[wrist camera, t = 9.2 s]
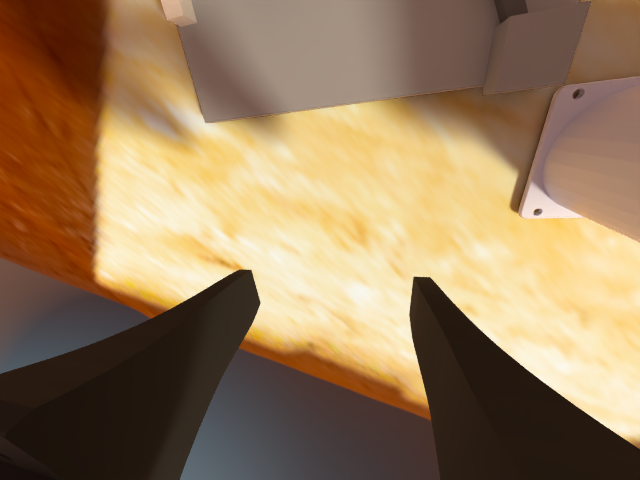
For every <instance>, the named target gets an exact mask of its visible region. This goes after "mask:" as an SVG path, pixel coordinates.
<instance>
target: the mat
mask: <svg viewBox="0 0 640 480" xmlns="http://www.w3.org/2000/svg"><path fill="white" fill-rule="evenodd" d="M191 1H192V5H193V9H194V13H195V16H196V20H197V23H194V24H190V25H186V26H182V27H181V26H179V25H177V24H176V25H177V28H178V32H179V35H180V38H181V42H182V45H183V49H184V52H185V55H186V59H187V62H188V66H189V69H190V72H191V76H192V79H193V83H194V86H195V89H196V93H197V96H198V99H199V103H200V106H201V110H202V113H203V116H204V120H205V123H216V122H223V121H231V120H238V119H246V118H253V117H260V116H268V115H275V114H283V113H290V112H298V111H305V110H313V109H320V108H328V107H335V106H342V105H350V104H357V103H365V102H372V101H380V100H387V99H395V98H402V97H410V96H417V95H424V94H432V93H439V92H447V91H454V90H462V89H469V88H477V87H484V82H485V77H486V71H487V66H488V60H489V55H490V50H491V44H492V39H493V33H494V28H496V27H497V26H498V25H500V21H499V17H498V14H497V10H496V6H495V3H494V0H191ZM525 1H526V5H527V10H528V13H531V12H536V11H541V10H546V9H552V8H557V7H562V6H567V5H573V4H578V3H580V0H525Z"/></svg>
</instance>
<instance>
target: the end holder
mask: <svg viewBox="0 0 640 480" xmlns="http://www.w3.org/2000/svg"><path fill="white" fill-rule="evenodd" d="M161 3H162V6H163V9H164V13H165V16H166V19H167V20H168V21H170V22H172V23H175V24H177V25H179V26H181V27H182V26H186V25H190V24H194V23H197V20H196V16H195V13H194V9H193V5H192V1H191V0H161Z"/></svg>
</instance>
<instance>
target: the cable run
mask: <svg viewBox="0 0 640 480" xmlns="http://www.w3.org/2000/svg"><path fill="white" fill-rule="evenodd" d="M494 3H495V6H496V10H497V14H498V17H499V21H500V25H498V26H497V27H496V28H494V33H493V39H492V44H491V50H490V55H489V60H488V66H487V71H486V77H485V82H484V88H483V93H482V96H483V95H491V94H498V93H506V92H514V91H522V90H530V89H538V88H545V87H551V86H556V85H561V84H565V82H566V79H567V76H568V72H569V69H570V66H571V63H572V60H573V57H574V53H575V50H576V47H577V44H578V41H579V38H580V35H581V31H582V28H583V25H584V22H585V19H586V16H587V12H588V9H589V6H590V3H591V1H588V2H583V3H578V4H573V5H567V6H562V7H557V8H552V9H546V10H541V11H536V12H531V13H528V10H527V5H526V1H525V0H494Z"/></svg>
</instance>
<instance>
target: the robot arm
mask: <svg viewBox="0 0 640 480" xmlns="http://www.w3.org/2000/svg"><path fill="white" fill-rule="evenodd" d="M577 89H578V90H579V95H578V96H577V97H576V98H575V99H574V98H573V93H574V92H575V91H576V90H577ZM536 209H539V210H538V212H537V213H534V214H533V212H534V210H536ZM518 214H519V216H521V217H523V218H526V219H536V218H588V219H590V220H592V221H594V222H596V223H599V224H601V225H603V226H605V227H607V228H609V229H612V230H614V231H616V232H618V233H620V234H622V235H625V236H627V237H629V238H631V239H633V240H635V241H638V242H640V76H635V77H627V78H620V79H612V80H604V81H596V82H588V83H580V84H572V85H566V86H563V87H561V88H559V89H558V90H557V91H556V92H555V94H554V96H553V98H552V101H551V105H550V108H549V111H548V114H547V118H546V121H545V124H544V128H543V131H542V134H541V137H540V141H539V144H538V147H537V151H536V154H535V157H534V161H533V164H532V167H531V170H530V174H529V177H528V180H527V184H526V187H525V190H524V193H523V197H522V200H521V203H520V207H519V210H518ZM259 306H260V300H259V296H258V292H257V289H256V285H255V282H254V278H253V274H252V271H251V270H238V271H236V272H234V273H232V274H230V275H228V276H227V277H225V278H223V279H222V280H220V281H218V282H217V283H215V284H213V285H212V286H210V287H208V288H207V289H205V290H203V291H202V292H200V293H198V294H197V295H195V296H193V297H191V298H189V299H188V300H186V301H184V302H182V303H181V304H179V305H177V306H175V307H173V308H172V309H170V310H168V311H166V312H164V313H162V314H160V315H158V316H156V317H154V318H152V319H150V320H148V321H146V322H143V323H141V324H139V325H137V326H135V327H132V328H130V329H128V330H125V331H123V332H120V333H118V334H116V335H113V336H111V337H108V338H106V339H104V340H101V341H98V342H96V343H93V344H90V345H88V346H85V347H82V348H79V349H77V350H74V351H71V352H68V353H65V354H63V355H59V356H57V357H54V358H50V359H47V360H44V361H41V362H38V363H34V364H31V365H28V366H25V367H21V368H18V369H15V370H12V371H9V372H5V373H2V374H0V480H180V477H181V474H182V471H183V469H184V466H185V463H186V460H187V458H188V455H189V453H190V450H191V448H192V445H193V443H194V440H195V437H196V435H197V432H198V430H199V427H200V425H201V423H202V420H203V418H204V416H205V413H206V411H207V409H208V406H209V404H210V402H211V400H212V397H213V395H214V393H215V391H216V389H217V386H218V384H219V382H220V380H221V378H222V376H223V374H224V372H225V370H226V368H227V367H228V365H229V363H230V361H231V360H232V358H233V356H234V354H235V353H236V351H237V349H238V348H239V346H240V344H241V342H242V341H243V339H244V337H245V335H246V334H247V332H248V330H249V328H250V327H251V325H252V323H253V321H254V318H255V316H256V314H257V311H258V308H259ZM409 315H410V323H411V331H412V338H413V343H414V347H415V351H416V355H417V359H418V363H419V367H420V371H421V375H422V379H423V383H424V387H425V391H426V395H427V399H428V404H429V409H430V414H431V421H432V427H433V433H434V439H435V445H436V453H437V459H438V465H439V473H440V479H441V480H640V449H638V448H637V447H635V446H634V445H632V444H631V443H629V442H628V441H626V440H625V439H623V438H622V437H620V436H619V435H617V434H616V433H614V432H613V431H611V430H610V429H608V428H607V427H605V426H604V425H602V424H601V423H599V422H598V421H597V420H595V419H594V418H592V417H591V416H589V415H588V414H586V413H585V412H584V411H582V410H581V409H579V408H578V407H576V406H575V405H574V404H572V403H571V402H569V401H568V400H567V399H565V398H564V397H563V396H561V395H560V394H558V393H557V392H556V391H554V390H553V389H552V388H550V387H549V386H548V385H546V384H545V383H543V382H542V381H541V380H539V379H538V378H537V377H536V376H534V375H533V374H532V373H530V372H529V371H528V370H526V369H525V368H524V367H523V366H522V365H520V364H519V363H518V362H517V361H515V360H514V359H513V358H512V357H511V356H509V355H508V354H507V353H506V352H504V351H503V350H502V349H501V348H500V347H499V346H497V345H496V344H495V343H494V342H493V341H492V340H491V339H489V338H488V337H487V336H486V335H485V334H484V333H483V332H482V331H481V330H480V329H479V328H478V327H477V326H476V325H474V324H473V323H472V322H471V321H470V320H469V319H468V318H467V317H466V316H465V315H464V313H463V312H462V311H461V310H460V309H459V308H458V307H457V306H456V305H455V304H454V303H453V302H452V301H451V300H450V299H449V298H448V297H447V295H446V294H445V293H444V292H443V291H442V290H441V289H440V288H439V287H438V285H437V284H436V283H435V282H434V281H433V280H432V279H431V278H430V277H414V279H413V288H412V296H411V305H410V314H409Z"/></svg>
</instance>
